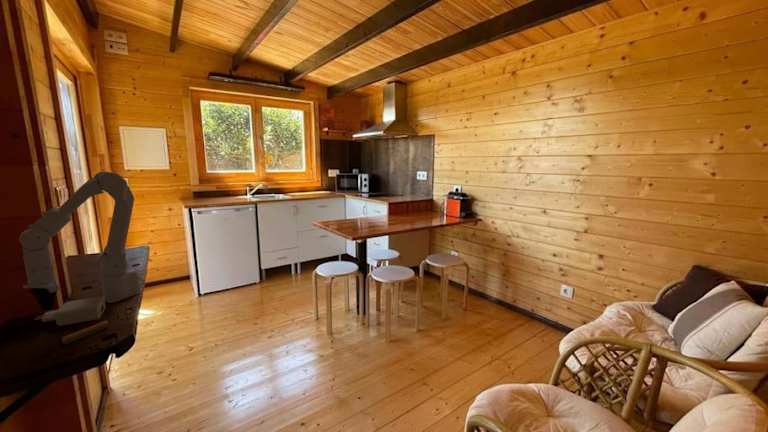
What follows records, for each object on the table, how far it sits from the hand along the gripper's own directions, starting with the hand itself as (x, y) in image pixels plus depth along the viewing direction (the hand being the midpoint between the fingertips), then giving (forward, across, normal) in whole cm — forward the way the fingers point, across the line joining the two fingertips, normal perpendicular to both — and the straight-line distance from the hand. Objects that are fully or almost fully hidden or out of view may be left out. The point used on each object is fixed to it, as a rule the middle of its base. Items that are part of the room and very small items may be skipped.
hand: (47, 309), depth 100 cm
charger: (+2, +9, +2) cm, 10 cm away
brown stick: (+2, +24, -1) cm, 25 cm away
